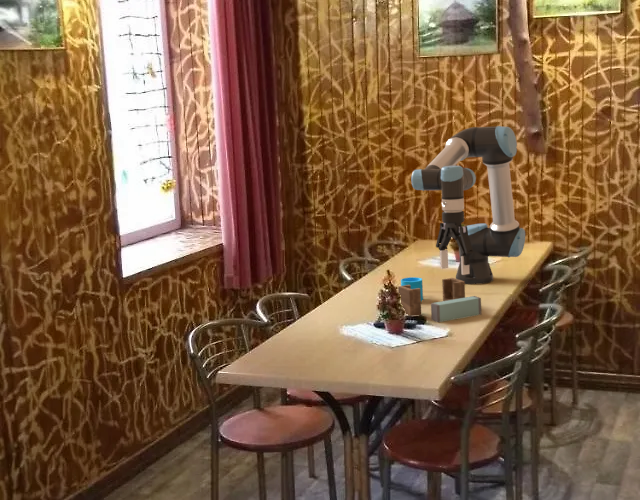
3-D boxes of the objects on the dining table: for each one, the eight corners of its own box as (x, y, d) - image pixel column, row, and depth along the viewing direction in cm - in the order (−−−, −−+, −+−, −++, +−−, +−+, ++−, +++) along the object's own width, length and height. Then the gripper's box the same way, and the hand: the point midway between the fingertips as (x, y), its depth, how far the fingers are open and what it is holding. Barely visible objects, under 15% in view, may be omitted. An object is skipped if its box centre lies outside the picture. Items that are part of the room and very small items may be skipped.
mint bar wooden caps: (453, 304, 349) (452, 277, 347) (465, 308, 342) (464, 281, 340) (399, 313, 340) (398, 286, 338) (410, 317, 332) (409, 290, 331)
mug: (417, 303, 353) (417, 282, 352) (398, 302, 357) (397, 281, 356) (430, 296, 363) (429, 275, 362) (411, 295, 367) (410, 274, 366)
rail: (474, 312, 335) (474, 295, 334) (481, 314, 331) (480, 297, 330) (431, 319, 328) (430, 303, 327) (437, 322, 324) (436, 305, 323)
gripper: (425, 208, 333) (427, 267, 336) (463, 215, 310) (465, 278, 314) (443, 206, 336) (445, 264, 339) (482, 213, 313) (484, 275, 317)
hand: (454, 271), depth 327 cm, fingers open, 13 cm apart
